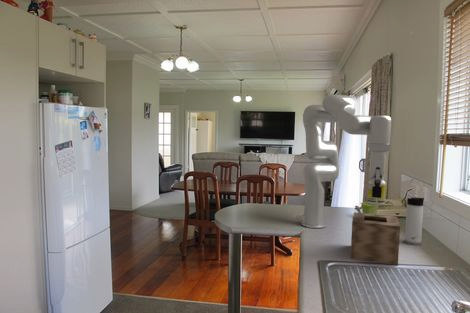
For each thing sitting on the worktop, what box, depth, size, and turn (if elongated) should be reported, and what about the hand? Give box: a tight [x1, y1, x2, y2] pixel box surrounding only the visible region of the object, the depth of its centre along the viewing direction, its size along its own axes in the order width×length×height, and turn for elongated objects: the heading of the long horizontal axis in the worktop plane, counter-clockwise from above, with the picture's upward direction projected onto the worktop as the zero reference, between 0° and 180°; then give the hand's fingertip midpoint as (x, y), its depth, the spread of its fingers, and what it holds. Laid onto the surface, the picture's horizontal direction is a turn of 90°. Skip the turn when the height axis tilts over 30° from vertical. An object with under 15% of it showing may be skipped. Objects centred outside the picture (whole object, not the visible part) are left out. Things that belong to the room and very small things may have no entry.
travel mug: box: [404, 197, 425, 246], centre depth 149 cm, size 6×7×20 cm
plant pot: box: [360, 201, 380, 215], centre depth 190 cm, size 9×9×9 cm
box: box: [350, 212, 401, 266], centre depth 134 cm, size 16×16×14 cm
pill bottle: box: [367, 175, 387, 206], centre depth 132 cm, size 6×6×11 cm
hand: (376, 195), depth 132 cm, fingers closed on pill bottle, 6 cm apart
